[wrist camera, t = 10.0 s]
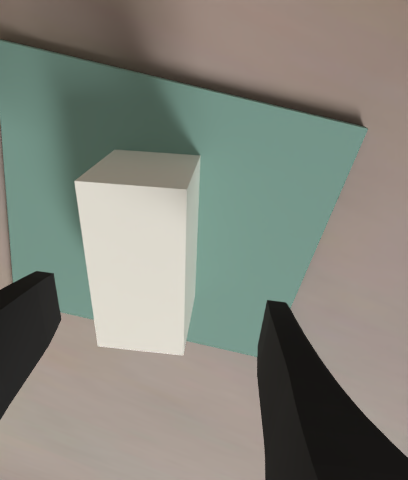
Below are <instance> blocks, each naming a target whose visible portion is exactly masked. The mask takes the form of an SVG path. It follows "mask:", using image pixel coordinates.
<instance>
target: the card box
mask: <svg viewBox="0 0 408 480" xmlns="http://www.w3.org/2000/svg"><path fill="white" fill-rule="evenodd" d="M200 157H201V155H187V154H172V153H158V152H143V151H129V150H114V151H112V152H111V153H110V154H108V155H107V156H106V157H105V158H103V159H102V160H101V161H99V162H98V163H97V164H96V165H94V166H93V167H92V168H90V169H89V170H88V171H87V172H85V173H84V174H83V175H81V176H80V177H79V178H77V179H76V180H75V181H74V182H75V189H76V196H77V203H78V210H79V217H80V224H81V231H82V239H83V246H84V253H85V260H86V267H87V274H88V281H89V288H90V295H91V302H92V309H93V316H94V323H95V330H96V337H97V344H98V346H99V347H109V348H118V349H127V350H137V351H146V352H155V353H165V354H174V355H184V350H185V345H186V340H187V335H188V329H189V324H190V319H191V314H192V309H193V304H194V299H195V285H196V260H197V234H198V209H199V183H200Z"/></svg>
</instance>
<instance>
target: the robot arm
mask: <svg viewBox="0 0 408 480" xmlns="http://www.w3.org/2000/svg"><path fill="white" fill-rule="evenodd" d="M60 321H61V314H60V308H59V302H58V296H57V290H56V284H55V278H54V273H49V272H41V271H35V272H33V273H31V274H29V275H27V276H25V277H23V278H21V279H19V280H17V281H16V282H14V283H12V284H10V285H8V286H6V287H5V288H3V289H1V290H0V419H1V418H2V416H3V414H4V413H5V411H6V410H7V408H8V406H9V405H10V403H11V402H12V400H13V399H14V397H15V396H16V394H17V393H18V391H19V390H20V388H21V387H22V385H23V384H24V382H25V381H26V379H27V378H28V376H29V375H30V373H31V372H32V370H33V369H34V367H35V366H36V364H37V363H38V361H39V360H40V358H41V357H42V355H43V354H44V352H45V350H46V349H47V347H48V346H49V344H50V342H51V340H52V338H53V336H54V334H55V332H56V330H57V328H58V325H59V323H60ZM257 377H258V387H259V397H260V407H261V416H262V426H263V436H264V447H265V478H266V480H408V457H406V456H405V455H404V454H403V453H402V452H401V451H400V450H399V449H398V448H397V447H396V446H395V445H394V444H393V443H392V442H391V441H390V440H389V439H388V438H387V437H386V436H385V435H384V434H383V433H382V432H381V431H380V430H379V429H378V428H377V427H376V426H375V425H374V424H373V423H372V422H371V421H370V420H369V419H368V418H367V417H366V416H365V415H364V413H363V412H362V411H361V410H360V409H359V408H358V407H357V406H356V404H355V403H354V402H353V401H352V400H351V398H350V397H349V396H348V395H347V394H346V393H345V391H344V390H343V389H342V388H341V386H340V385H339V384H338V382H337V381H336V380H335V378H334V377H333V376H332V374H331V373H330V372H329V370H328V369H327V368H326V366H325V365H324V363H323V362H322V360H321V359H320V358H319V356H318V355H317V353H316V352H315V350H314V348H313V347H312V345H311V344H310V342H309V341H308V339H307V337H306V336H305V334H304V333H303V331H302V329H301V327H300V326H299V324H298V322H297V320H296V319H295V317H294V315H293V313H292V311H291V309H290V308H289V306H288V304H287V303H286V302H279V301H271V300H267V303H266V308H265V312H264V317H263V322H262V327H261V332H260V336H259V341H258V353H257Z"/></svg>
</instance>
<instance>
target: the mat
mask: <svg viewBox="0 0 408 480" xmlns="http://www.w3.org/2000/svg"><path fill="white" fill-rule="evenodd" d="M0 121H1V134H2V147H3V160H4V173H5V185H6V198H7V211H8V224H9V237H10V250H11V263H12V276H13V283H14V282H16V281H17V280H19V279H21V278H23V277H25V276H27V275H29V274H31V273H33V272H35V271H41V272H49V273H54V278H55V284H56V290H57V296H58V302H59V308H60V312H62V313H67V314H71V315H76V316H80V317H84V318H89V319H93V320H94V316H93V309H92V302H91V295H90V288H89V281H88V274H87V267H86V260H85V253H84V246H83V239H82V231H81V224H80V217H79V210H78V203H77V196H76V189H75V182H74V181H75V180H76V179H77V178H79V177H80V176H81V175H83V174H84V173H85V172H87V171H88V170H89V169H90V168H92V167H93V166H94V165H96V164H97V163H98V162H99V161H101V160H102V159H103V158H105V157H106V156H107V155H108V154H110V153H111V152H112V151H114V150H129V151H143V152H158V153H172V154H187V155H201V157H200V183H199V209H198V234H197V260H196V285H195V299H194V304H193V309H192V314H191V319H190V324H189V329H188V335H187V340H186V341H189V342H194V343H198V344H203V345H207V346H211V347H216V348H220V349H224V350H229V351H233V352H238V353H242V354H246V355H251V356H255V357H257V353H258V341H259V336H260V332H261V327H262V322H263V317H264V312H265V308H266V303H267V300H271V301H279V302H286V303H287V304H288V306H289V308H291V306H292V303H293V301H294V299H295V296H296V294H297V292H298V289H299V287H300V285H301V282H302V280H303V278H304V276H305V273H306V271H307V269H308V266H309V264H310V262H311V259H312V257H313V255H314V252H315V250H316V248H317V245H318V243H319V241H320V239H321V236H322V234H323V232H324V229H325V227H326V225H327V222H328V220H329V218H330V215H331V213H332V211H333V209H334V206H335V204H336V202H337V199H338V197H339V195H340V192H341V190H342V188H343V185H344V183H345V181H346V178H347V176H348V174H349V172H350V169H351V167H352V165H353V162H354V160H355V158H356V155H357V153H358V151H359V148H360V146H361V144H362V142H363V139H364V137H365V135H366V132H367V130H368V129H367V128H366V127H364V126H360V125H356V124H352V123H348V122H344V121H339V120H335V119H331V118H327V117H323V116H319V115H314V114H310V113H306V112H302V111H298V110H294V109H289V108H285V107H281V106H277V105H273V104H269V103H264V102H260V101H256V100H252V99H248V98H244V97H239V96H235V95H231V94H227V93H223V92H219V91H214V90H210V89H206V88H202V87H198V86H194V85H190V84H185V83H181V82H177V81H173V80H169V79H165V78H160V77H156V76H152V75H148V74H144V73H140V72H135V71H131V70H127V69H123V68H119V67H115V66H110V65H106V64H102V63H98V62H94V61H90V60H85V59H81V58H77V57H73V56H69V55H65V54H60V53H56V52H52V51H48V50H44V49H40V48H35V47H31V46H27V45H23V44H19V43H15V42H10V41H6V40H2V39H0Z"/></svg>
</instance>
